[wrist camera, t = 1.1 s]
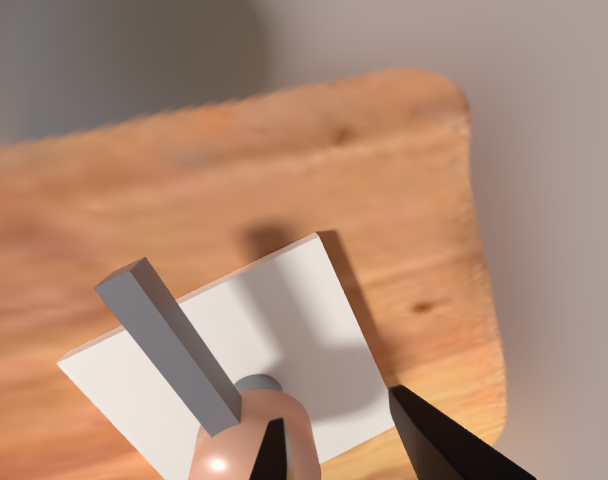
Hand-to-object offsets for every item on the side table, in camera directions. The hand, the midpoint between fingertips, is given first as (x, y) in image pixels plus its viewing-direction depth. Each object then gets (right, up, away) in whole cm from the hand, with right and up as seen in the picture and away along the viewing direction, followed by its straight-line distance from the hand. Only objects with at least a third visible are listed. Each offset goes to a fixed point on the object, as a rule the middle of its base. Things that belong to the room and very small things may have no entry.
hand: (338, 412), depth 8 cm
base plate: (-5, -6, +14) cm, 16 cm away
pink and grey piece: (-6, -3, +8) cm, 11 cm away
